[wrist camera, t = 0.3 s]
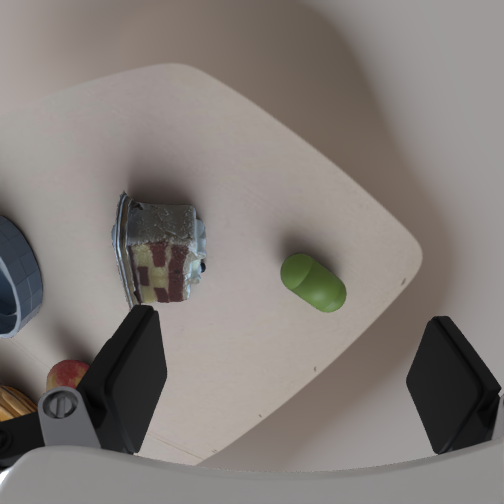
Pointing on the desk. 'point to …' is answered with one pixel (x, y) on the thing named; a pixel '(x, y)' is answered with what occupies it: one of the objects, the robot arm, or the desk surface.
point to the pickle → (313, 283)
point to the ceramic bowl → (14, 403)
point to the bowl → (17, 281)
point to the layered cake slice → (157, 250)
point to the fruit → (66, 374)
